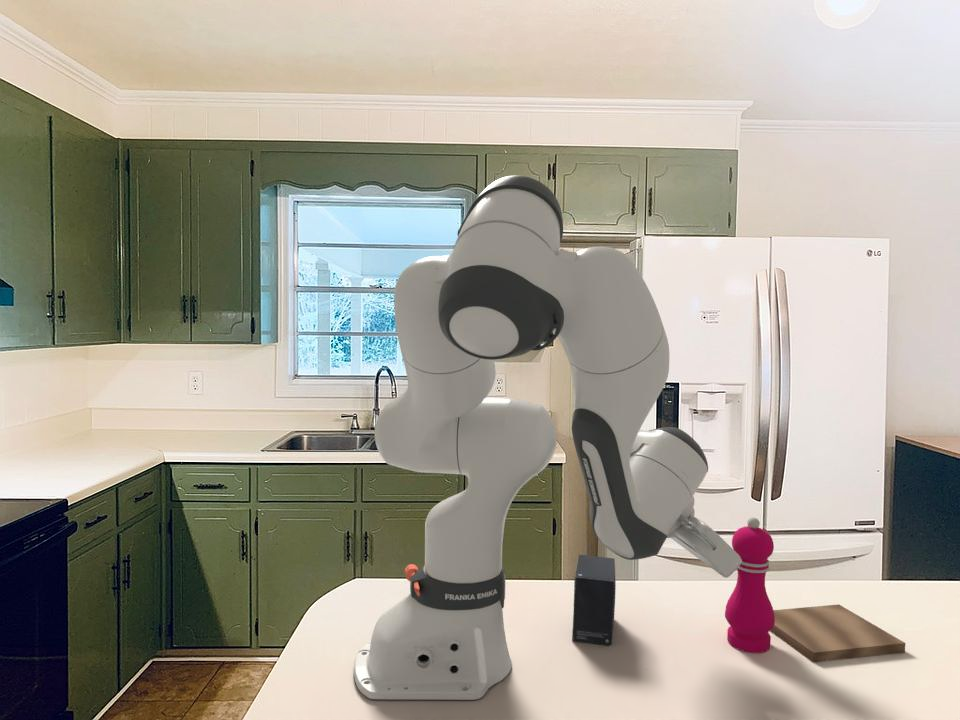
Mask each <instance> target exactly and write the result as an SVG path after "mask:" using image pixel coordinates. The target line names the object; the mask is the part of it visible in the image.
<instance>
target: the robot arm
mask: <svg viewBox="0 0 960 720" xmlns="http://www.w3.org/2000/svg"><path fill="white" fill-rule="evenodd" d="M563 235H564V220H563V213H562V208H561V206H560V203H559V201H558V199H557V197H556V195H555V194H554V193H553V191H552V190H551V189H550V188H549V187H548V186H547V185H546V184H544V183H543V182H541V181H540V180H537V179H535V178H533V177H530V176H525V175H508V176H504V177H501V178H498V179H497V180H494V181H493V182H491V183H490V184H489V185H487V187H485V188H484V189H483V191H482V192H480V194H479V195H478V196H477V197H476V198H475V200H474V201H473V203H472V204H471V206H470V208H469V210H468V211H467V213H466V215H465V218H464V219H463V221H462V223H461V225H460V226H459V229H458V230H457V238H456V241H455V244H454V245H453V250H452V251H451V252H450V253H449V254H447V255H442V256H441V255H435V256H434V255H432V256H427V257H424V258H420V259H418V260H415V261H414V262H412V263H411V264H409V265H408V266H407V267H406V268H405V269H404V270H403V271H402V272H401V274H400V275H399V276H398V278H397V280H396V282H395V286H394V293H393V294H394V295H393V296H394V297H393V299H394V300H393V301H394V303H393V304H394V307H393V309H394V320H395V328H396V335H397V341H398V345H399V349H400V352H401V355H402V356H401V357H402V360H403V364H404V368H405V372H406V377H407V388H406V390H404V392H403V393H402V394H400V395H399V396H397V397H395V398H392V399H391V400H389V401H388V402H387V403H386V404H385V405H384V406H383V408H382V409H381V411H380V412H379V414H378V417H377V420H376V422H375V425H374V426H375V427H374V441H375V445H376V448H377V451H378V453H379V455H380V457H381V458H382V460H383V461H384V462H385V463H386V464H387V465H390V466H393V467H397V468H400V469H403V470H408V471H412V472H416V473H426V474H447V475H449V474H450V475H462V476H466V477H467V481H468V482H467V486H466V487H467V488H466V489H465V490H462V491H461V492H459V493H456V494H453V495H452V496H448V497H447V498H446V499H443V500H441V501H439V503H437V504H435V505H434V506H433V507H432V508H431V509H430V511H429V512H428V514H427V516H426V519H425V523H424V565H423V566H422V567H421V568H420V569H419V568H418V566H417V565H416V564H413V563H412V564H411V563H410V564H408V565H406V567H405V568H404V575H405V578H406V580H407V581H409V584H410V585H409V588H410V591H409V594H407V596H405V597H404V598H402V600H400V601H399V602H397V603H396V604H395V605H393V606H392V607H390V608H389V609H388V610H387V611H385V612H384V613H383V614H381V615H380V616H379V617H378V619H377V621H376V622H375V625H374V628H373V631H372V635H371V639H370V642H369V643H366V644H364V645H362V647H361V648H360V649H359V650H358V652H357V653H356V656H355V659H354V664H353V665H354V666H353V677H354V682H355V684H356V687H357V688H358V690H359V691H360V693H361V694H362V695H364V696H365V697H367V698H368V699H371V700H435V701H436V700H440V701H441V700H443V701H444V700H449V701H450V700H458V701H459V700H460V701H461V700H462V701H463V700H464V701H465V700H467V701H468V700H469V701H471V700H472V701H473V700H479V699H481V698H483V696H485V694H486V693H487V692H488V690H489V689H490V688H491V687H492V686H493V685H495V684H498V683H499V682H501V681H502V680H504V679H505V678H506V677H507V676H508V675H509V673H510V672H511V670H512V658H511V656H510V652H509V648H508V644H507V638H506V631H505V624H504V614H503V612H504V611H503V609H504V607H505V599H506V576H505V569H504V568H503V543H504V542H503V539H504V531H505V522H506V518H507V516H508V515H507V514H508V511H509V509H510V506H511V504H512V502H513V500H514V499H515V497H516V495H517V494H518V493H519V491H520V490H521V489H522V488H523V487H524V485H525V484H526V483H528V482H529V481H531V479H533V477H535V476H537V475H538V474H541V472H542V471H543V470H544V469H546V468H547V466H548V465H549V463H550V462H551V461H552V459H553V457H554V454H555V451H556V448H557V441H558V440H557V439H558V437H557V435H558V434H557V428H556V424H555V422H554V419H553V418H552V415H551V414H550V413H549V411H548V410H547V408H545V406H543V405H542V404H538V403H534V402H530V401H526V400H521V399H517V398H512V397H491V396H490V397H489V396H488V395H489V394H490V392H491V391H492V389H493V387H494V385H495V380H496V375H497V374H496V372H497V371H496V365H495V364H496V363H495V361H496V360H503V359H504V360H505V359H508V358H514V357H519V356H522V355H524V354H528V353H529V352H530V351H541V350H543V349H545V348H546V347H548V346H550V345H551V344H552V343H554V340H556V339H557V338H558V339H559V341H560V344H561V345H562V349H563V350H564V353H565V355H566V357H567V359H568V361H569V362H568V363H569V365H570V370H571V375H572V383H573V413H572V419H571V420H572V421H571V434H572V440H573V444H574V448H575V452H576V455H577V459H578V463H579V467H580V470H581V474H582V477H583V480H584V484H585V488H586V492H587V497H588V499H589V507H588V508H589V509H588V510H589V518H590V523H591V528H592V530H593V532H594V534H595V536H596V537H597V538H598V540H599V541H600V542H601V543H602V544H603V545H604V547H606V548H607V549H608V550H610V552H612V553H614V554H615V555H617V556H618V557H620V558H623V559H625V560H630V561H632V560H636V561H637V560H643V559H646V558H652V557H654V556H657V555H658V554H659V553H660V551H661V549H662V547H663V545H664V544H665V542H666V540H667V539H671V540H673V541H674V542H675V543H676V544H678V545H680V546H681V547H682V548H683V549H685V550H686V551H688V552H689V553H690V554H692V555H693V556H694V557H696V558H697V559H698V560H699V561H701V562H703V563H704V564H705V565H706V566H708V567H709V568H711V569H712V570H713V571H715V572H716V573H717V574H718V575H720V576H721V577H723V578H725V579H726V578H727V579H728V578H729V577H731V575H733V573H734V572H736V570H737V568H738V567H739V566H740V564H741V563H742V559H741V557H740V556H739V555H738V554H737V553H736V552H735V551H734V549H733V547H731V546H730V544H728V543H727V541H725V540H724V539H723V537H721V536H720V535H719V534H718V533H717V531H715V530H714V529H713V528H712V527H710V525H708V524H706V523H705V522H704V521H702V520H700V518H699V519H698V518H697V517H695V511H696V510H695V508H694V506H695V497H694V495H695V493H696V492H697V490H698V488H699V487H700V486H701V484H702V483H703V481H704V479H705V477H706V475H707V474H708V472H709V465H708V459H707V457H706V454H705V453H704V451H703V449H702V447H701V446H700V444H699V443H698V442H697V441H696V440H695V439H694V438H693V437H692V436H690V435H689V433H687V432H685V431H684V430H682V429H680V428H678V427H674V426H673V427H670V426H669V427H660V428H654V429H650V430H643V429H641V428H642V425H643V424H644V422H645V420H646V419H647V417H648V415H649V413H650V411H651V410H652V408H653V406H654V405H655V403H656V402H657V400H658V398H659V396H660V395H661V393H662V391H663V390H664V388H665V385H666V382H667V381H668V377H669V374H670V373H669V372H670V345H669V340H668V339H669V338H668V337H667V336H668V335H667V332H666V330H665V327H664V325H663V321H662V318H661V315H660V312H659V309H658V307H657V305H656V302H655V300H654V298H653V295H652V294H651V291H650V289H649V287H648V285H647V284H646V282H645V280H644V278H643V276H642V275H641V273H640V272H639V270H638V268H637V267H636V264H635V263H634V262H633V261H632V259H631V258H630V257H629V256H628V255H626V254H625V253H624V252H622V251H621V250H618V249H616V248H613V247H609V246H592V247H590V246H589V247H586V248H583V249H579V250H578V251H576V252H575V251H569V250H567V249H564V248H560V247H561V242H562V239H563ZM487 396H488V397H487Z"/></svg>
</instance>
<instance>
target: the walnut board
mask: <svg viewBox="0 0 960 720" xmlns="http://www.w3.org/2000/svg"><path fill="white" fill-rule="evenodd" d="M773 611H774V615H775V624H774V627H773V628H772V629H771V630H770V631H769V632H771V633H772V634H773V635H775V636H776V637H778V638H779V639H780V640H782V642H785V643H786V644H787V645H788V646H790V647H791V648H793V649H794V650H795V651H796V652H798V653H800V655H802V656H804V657H805V658H806V659H808V660H809V661H810V662H812V663H819V662H829V661H831V662H832V661H839V660H847V659H855V658H856V659H857V658H858V659H859V658H866V657H876V656H885V655H895V654H896V655H897V654H904V653H906V642H904V641H903V640H901V639H899V638H898V637H896V636H895V635H893V634H891V633H889V632H888V631H885V630H884V629H882V628H881V627H878V626H877V625H875V624H873V623H872V622H870V621H868V620H866V619H865V618H864V617H861V616H859V615H858V614H857V613H855V612H854V611H853V612H852V611H851V610H849V609H848V608H846V607H844V606H843V605H841V604H839V603H838V604H828V605H817V606H807V607H806V606H805V607H795V608H786V609H785V608H784V609H783V608H782V609H773Z"/></svg>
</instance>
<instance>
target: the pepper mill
mask: <svg viewBox="0 0 960 720" xmlns="http://www.w3.org/2000/svg"><path fill="white" fill-rule="evenodd" d="M760 524H761V523H760V521H759V519H758V518H757V517H753V516H752V517H749V518H748V519H747V525H746V526H742V527H740V528H738V529H736V530H735V532H734V533H733V535H732V539H731V546H732V547H731V548H732V549H733V550H734V551H735V552H736V553H737V554H738V555H739V556H740V557H741V559H742V563H741V564H740V566H739V567H738V568H737V569H736V570H737V577H736V578H737V579H736V584H735V587H734V588H733V591H732V593H731V594H730V596H729V598H728V600H727V602H726V605H725V611H724V618H725V620H726V622H727V624H728V625H729V626H728V628H727V632H726V633H727V634H726V635H727V637H726V638H727V642H728V644H729V645H730V646H732V647H733V648H734V649H736V650H739V651H742V652H746V653H752V654H761V653H766V652H768V651H770V649H771V641H772V637H771V634H770V633H769V632H771V631H770V630H771V629H772V628H773V627H774V624H775V615H774V611H773V610H774V608H773V605H772V603H771V602H772V601H771V600H770V598H769V595H768V593H767V590H766V573H767V572H769V570H770V566H769V565H770V560H769V558H770V556H772V555H773V553H774V549H775V548H774V547H775V545H774V541H773V537H772V536H771V534H769V532H768V531H766V530H765V529H764V528H761V527H760Z"/></svg>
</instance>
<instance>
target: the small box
mask: <svg viewBox="0 0 960 720" xmlns="http://www.w3.org/2000/svg"><path fill="white" fill-rule="evenodd" d="M573 582H574V584H573V585H574V586H573V587H574V588H573V617H572V632H571V633H572V636H571V641H572V642H578V643H587V644H594V645H595V644H596V645H604V646H611V645H612V643H613V634H614V623H615V611H616V608H615V607H616V592H617V591H616V587H617V585H616V584H617V583H616V560H615V558H613V557H606V556H595V555H586V554H578V558H577V561H576V567H575V574H574V581H573Z"/></svg>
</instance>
